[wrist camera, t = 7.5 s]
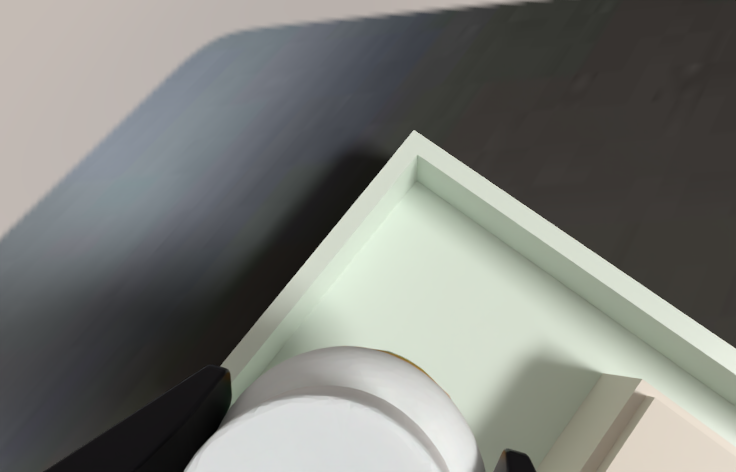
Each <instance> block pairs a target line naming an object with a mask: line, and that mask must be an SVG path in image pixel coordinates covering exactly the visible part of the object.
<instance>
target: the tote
mask: <svg viewBox="0 0 736 472" xmlns="http://www.w3.org/2000/svg"><path fill="white" fill-rule="evenodd" d="M334 346H356V347H365V348H371V349H378V350H384V351H390V352H392V353H395V354H397V355H400V356H402V357H404V358H406V359H408V360H410V361H411V362H413V363H415V364H416V365H418V366H419V367H420V368H422V369H423V370H424V371H425V372H426V373H427V374H428V375H429V376H430V377H431V378H432V379H433V380H434V381H435V382H436V383H437V384H438V385H439V386H440V387H441V388H442V389H443V390H444V391H445V392H446V393H447V394H448V395H449V396H450V398H451V399H452V401H453V402H454V404H455V405H456V406H457V408H458V409H459V411H460V412H461V414H462V415H463V416H464V418H465V420H466V422H467V424H468V426H469V427H470V429H471V431H472V433H473V435H474V437H475V440H476V442H477V445H478V447H479V450H480V453H481V456H482V459H483V462H484V467H485V471H486V472H493V471H494V469H495V467H496V465H497V462H498V460H499V458H500V456H501V454H502V452H503V450H504V449H506V448H509V449H513V450H516V451H520V452H523V453H526V454H527V455H528V456H529V457H530V459H531V461H532V463H533V465H534V468H535V470H536V469H537V468H538V466H539V465H540V463H541V462H542V460H543V459H544V457H545V456H546V454H547V453H548V452H549V450H550V449H551V447H552V446H553V444H554V443H555V441H556V440H557V439H558V437H559V436H560V434H561V433H562V431H563V430H564V428H565V427H566V426H567V424H568V423H569V421H570V420H571V418H572V417H573V415H574V414H575V413H576V411H577V410H578V408H579V407H580V405H581V404H582V402H583V401H584V399H585V398H586V397H587V395H588V394H589V392H590V391H591V389H592V388H593V386H594V385H595V384H596V382H597V381H598V379H599V378H600V376H601V375H602V373H605V374H612V375H619V376H625V377H632V378H639V379H643V380H644V381H646V382H647V383H649V384H650V385H651V386H653V387H654V388H655V389H657V390H658V391H660V392H661V393H662V394H664V395H665V396H666V397H668V398H669V399H671V400H672V401H673V402H675V403H676V404H677V405H679V406H680V407H682V408H683V409H684V410H686V411H687V412H688V413H690V414H691V415H692V416H694V417H695V418H697V419H698V420H699V421H701V422H702V423H703V424H705V425H706V426H708V427H709V428H710V429H712V430H713V431H714V432H716V433H717V434H719V435H720V436H721V437H723V438H724V439H725V440H727V441H728V442H730V443H731V444H732V445H734V446H735V447H736V349H735V348H734V347H732V346H731V345H729V344H728V343H726V342H725V341H723V340H722V339H720V338H719V337H717V336H716V335H715V334H713V333H712V332H710V331H709V330H707V329H706V328H704V327H703V326H701V325H700V324H698V323H697V322H695V321H694V320H692V319H691V318H690V317H688V316H687V315H685V314H684V313H682V312H681V311H679V310H678V309H676V308H675V307H673V306H672V305H670V304H669V303H667V302H666V301H665V300H663V299H662V298H660V297H659V296H657V295H656V294H654V293H653V292H651V291H650V290H648V289H647V288H645V287H644V286H642V285H641V284H640V283H638V282H637V281H635V280H634V279H632V278H631V277H629V276H628V275H626V274H625V273H623V272H622V271H620V270H619V269H617V268H616V267H615V266H613V265H612V264H610V263H609V262H607V261H606V260H604V259H603V258H601V257H600V256H598V255H597V254H595V253H594V252H592V251H591V250H590V249H588V248H587V247H585V246H584V245H582V244H581V243H579V242H578V241H576V240H575V239H573V238H572V237H570V236H569V235H567V234H566V233H565V232H563V231H562V230H560V229H559V228H557V227H556V226H554V225H553V224H551V223H550V222H548V221H547V220H545V219H544V218H542V217H541V216H540V215H538V214H537V213H535V212H534V211H532V210H531V209H529V208H528V207H526V206H525V205H523V204H522V203H520V202H519V201H517V200H516V199H515V198H513V197H512V196H510V195H509V194H507V193H506V192H504V191H503V190H501V189H500V188H498V187H497V186H495V185H494V184H492V183H491V182H490V181H488V180H487V179H485V178H484V177H482V176H481V175H479V174H478V173H476V172H475V171H473V170H472V169H470V168H469V167H467V166H466V165H465V164H463V163H462V162H460V161H459V160H457V159H456V158H454V157H453V156H451V155H450V154H448V153H447V152H445V151H444V150H442V149H441V148H440V147H438V146H437V145H435V144H434V143H432V142H431V141H429V140H428V139H426V138H425V137H423V136H422V135H420V134H419V133H417V132H416V131H415V130H414V131H413V132H412V133H411V134H410V136H409V137H408V138H407V139H406V140H405V142H404V143H403V144H402V145H401V147H400V148H399V149H398V150H397V151H396V153H395V154H394V155H393V156H392V158H391V159H390V160H389V161H388V162H387V164H386V165H385V166H384V167H383V168H382V170H381V171H380V172H379V173H378V175H377V176H376V177H375V178H374V179H373V181H372V182H371V183H370V184H369V186H368V187H367V188H366V189H365V190H364V192H363V193H362V194H361V195H360V196H359V198H358V199H357V200H356V201H355V203H354V204H353V205H352V206H351V207H350V209H349V210H348V211H347V212H346V214H345V215H344V216H343V217H342V218H341V220H340V221H339V222H338V223H337V224H336V226H335V227H334V228H333V229H332V231H331V232H330V233H329V234H328V235H327V237H326V238H325V239H324V240H323V242H322V243H321V244H320V245H319V246H318V248H317V249H316V250H315V251H314V253H313V254H312V255H311V256H310V257H309V259H308V260H307V261H306V262H305V263H304V265H303V266H302V267H301V268H300V270H299V271H298V272H297V273H296V274H295V276H294V277H293V278H292V279H291V281H290V282H289V283H288V284H287V285H286V287H285V288H284V289H283V290H282V291H281V293H280V294H279V295H278V296H277V298H276V299H275V300H274V301H273V302H272V304H271V305H270V306H269V307H268V309H267V310H266V311H265V312H264V313H263V315H262V316H261V317H260V318H259V319H258V321H257V322H256V323H255V324H254V326H253V327H252V328H251V329H250V330H249V332H248V333H247V334H246V335H245V337H244V338H243V339H242V340H241V341H240V343H239V344H238V345H237V346H236V347H235V349H234V350H233V351H232V352H231V354H230V355H229V356H228V357H227V358H226V360H225V361H224V362H223V363H222V365H221V366H220V367H224V368H227V369H229V371H230V374H231V386H232V400H231V404H230V407H229V409H230V408H231V406H232V405H233V404H234V403H235V401H236V400H237V399H238V398H239V396H240V395H241V394H242V393H243V392H244V391H245V390H246V389H247V388H248V387H249V386H250V385H251V384H252V383H253V382H254V381H255V380H256V379H258V378H259V377H260V376H261V375H263V374H264V373H265V372H267V371H268V370H270V369H271V368H273V367H274V366H276V365H278V364H279V363H281V362H283V361H285V360H287V359H289V358H292V357H294V356H296V355H299V354H301V353H305V352H308V351H311V350H315V349H320V348H326V347H334ZM229 409H228V410H229Z"/></svg>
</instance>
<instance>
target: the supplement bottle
mask: <svg viewBox="0 0 736 472" xmlns="http://www.w3.org/2000/svg"><path fill="white" fill-rule="evenodd" d="M184 472H486V471H485V467H484V462H483V459H482V456H481V453H480V450H479V447H478V445H477V442H476V440H475V437H474V435H473V433H472V431H471V429H470V427H469V426H468V424H467V422H466V420H465V418H464V416H463V415H462V414H461V412H460V411H459V409H458V408H457V406H456V405H455V404H454V402H453V401H452V399H451V398H450V396H449V395H448V394H447V393H446V392H445V391H444V390H443V389H442V388H441V387H440V386H439V385H438V384H437V383H436V382H435V381H434V380H433V379H432V378H431V377H430V376H429V375H428V374H427V373H426V372H425V371H424V370H423V369H422V368H420V367H419V366H418V365H416V364H415V363H413V362H411V361H410V360H408V359H406V358H404V357H402V356H400V355H397V354H395V353H392V352H390V351H384V350H378V349H371V348H365V347H356V346H334V347H326V348H320V349H315V350H311V351H308V352H305V353H301V354H299V355H296V356H294V357H292V358H289V359H287V360H285V361H283V362H281V363H279V364H278V365H276V366H274V367H273V368H271V369H270V370H268V371H267V372H265V373H264V374H263V375H261V376H260V377H259V378H258V379H256V380H255V381H254V382H253V383H252V384H251V385H250V386H249V387H248V388H247V389H246V390H245V391H244V392H243V393H242V394H241V395H240V396H239V398H238V399H237V400H236V401H235V403H234V404H233V405H232V406H231V408H230V409H229V410H228V412H227V413H226V415H225V416H224V418H223V420H222V422H221V423H220V425H219V427H218V429H217V431H216V432H215V433H214V434H213V435H212V436H211V437H210V438H209V439H208V440H207V441H206V442H205V444H204V445H203V446H202V447H201V448H200V449H199V450H198V451H197V452H196V454H195V455H194V456H193V458H192V459H191V461H190V462H189V464H188V465H187V467H186V468H185V470H184Z"/></svg>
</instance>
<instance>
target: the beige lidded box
mask: <svg viewBox="0 0 736 472" xmlns="http://www.w3.org/2000/svg"><path fill="white" fill-rule="evenodd" d="M536 472H736V447H735V446H734V445H732V444H731V443H730V442H728V441H727V440H725V439H724V438H723V437H721V436H720V435H719V434H717V433H716V432H714V431H713V430H712V429H710V428H709V427H708V426H706V425H705V424H703V423H702V422H701V421H699V420H698V419H697V418H695V417H694V416H692V415H691V414H690V413H688V412H687V411H686V410H684V409H683V408H682V407H680V406H679V405H677V404H676V403H675V402H673V401H672V400H671V399H669V398H668V397H666V396H665V395H664V394H662V393H661V392H660V391H658V390H657V389H655V388H654V387H653V386H651V385H650V384H649V383H647V382H646V381H644V380H643V379H639V378H632V377H625V376H619V375H612V374H605V373H602V375H601V376H600V378H599V379H598V381H597V382H596V384H595V385H594V386H593V388H592V389H591V391H590V392H589V394H588V395H587V397H586V398H585V399H584V401H583V402H582V404H581V405H580V407H579V408H578V410H577V411H576V413H575V414H574V415H573V417H572V418H571V420H570V421H569V423H568V424H567V426H566V427H565V428H564V430H563V431H562V433H561V434H560V436H559V437H558V439H557V440H556V441H555V443H554V444H553V446H552V447H551V449H550V450H549V452H548V453H547V454H546V456H545V457H544V459H543V460H542V462H541V463H540V465H539V466H538V468H537V469H536Z"/></svg>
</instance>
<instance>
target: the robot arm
mask: <svg viewBox="0 0 736 472" xmlns="http://www.w3.org/2000/svg"><path fill="white" fill-rule="evenodd" d="M231 400H232V386H231V374H230V371H229V369H227V368H224V367H220V366H217V365H208V366H206V367H204V368H202V369H201V370H199V371H198V372H196V373H195V374H193V375H192V376H190V377H188V378H187V379H185V380H184V381H182V382H181V383H179V384H178V385H176V386H175V387H173V388H171V389H170V390H168V391H167V392H165V393H164V394H162V395H161V396H159V397H158V398H156V399H155V400H153V401H151V402H150V403H148V404H147V405H145V406H144V407H142V408H141V409H139V410H138V411H136V412H134V413H133V414H131V415H130V416H128V417H127V418H125V419H124V420H122V421H121V422H119V423H117V424H116V425H114V426H113V427H111V428H110V429H108V430H107V431H105V432H104V433H102V434H100V435H99V436H97V437H96V438H94V439H93V440H91V441H90V442H88V443H87V444H85V445H84V446H82V447H80V448H79V449H77V450H76V451H74V452H73V453H71V454H70V455H68V456H67V457H65V458H63V459H62V460H60V461H59V462H57V463H56V464H54V465H53V466H51V467H50V468H48V469H46V470H45V471H43V472H184V470H185V468H186V467H187V465H188V464H189V462H190V461H191V459H192V458H193V456H194V455H195V454H196V452H197V451H198V450H199V449H200V448H201V447H202V446H203V445H204V444H205V442H206V441H207V440H208V439H209V438H210V437H211V436H212V435H213V434H214V433H215V432H216V431H217V429H218V427H219V425H220V423H221V422H222V420H223V418H224V416H225V415H226V413H227V412H228V409H229V407H230V404H231ZM493 472H536V470H535V468H534V465H533V463H532V461H531V459H530V457H529V456H528V455H527V454H526V453H523V452H520V451H516V450H513V449H509V448H506V449H504V450H503V452H502V454H501V456H500V458H499V460H498V462H497V465H496V467H495V469H494V471H493Z"/></svg>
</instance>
